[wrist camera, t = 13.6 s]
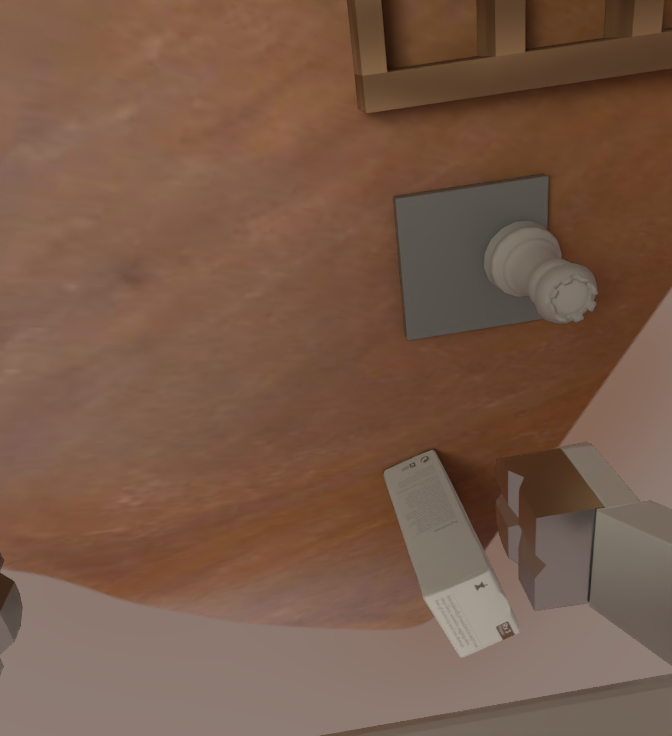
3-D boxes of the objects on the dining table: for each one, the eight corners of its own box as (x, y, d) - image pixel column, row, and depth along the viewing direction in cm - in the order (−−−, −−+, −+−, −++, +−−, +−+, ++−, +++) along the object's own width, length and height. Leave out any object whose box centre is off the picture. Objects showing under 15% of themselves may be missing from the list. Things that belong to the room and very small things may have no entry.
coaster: (393, 196, 37) (395, 198, 37) (543, 173, 38) (548, 175, 37) (404, 335, 41) (407, 340, 41) (540, 314, 42) (545, 318, 41)
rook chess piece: (567, 241, 39) (635, 284, 32) (522, 302, 40) (578, 355, 33) (511, 204, 37) (568, 240, 30) (466, 268, 39) (512, 317, 32)
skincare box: (379, 470, 46) (415, 598, 35) (436, 444, 45) (489, 566, 35) (412, 528, 49) (455, 664, 38) (466, 504, 48) (525, 634, 37)
